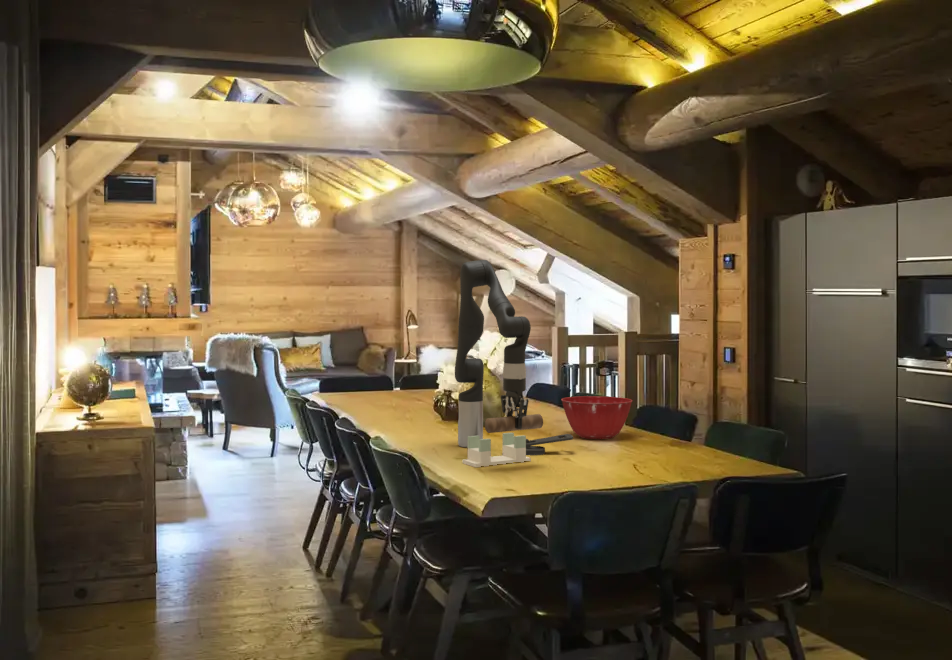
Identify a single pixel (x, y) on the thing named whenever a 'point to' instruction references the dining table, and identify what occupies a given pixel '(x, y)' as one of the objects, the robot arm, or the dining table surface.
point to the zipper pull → (541, 450)
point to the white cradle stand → (482, 456)
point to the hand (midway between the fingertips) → (514, 427)
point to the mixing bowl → (596, 415)
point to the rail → (513, 423)
